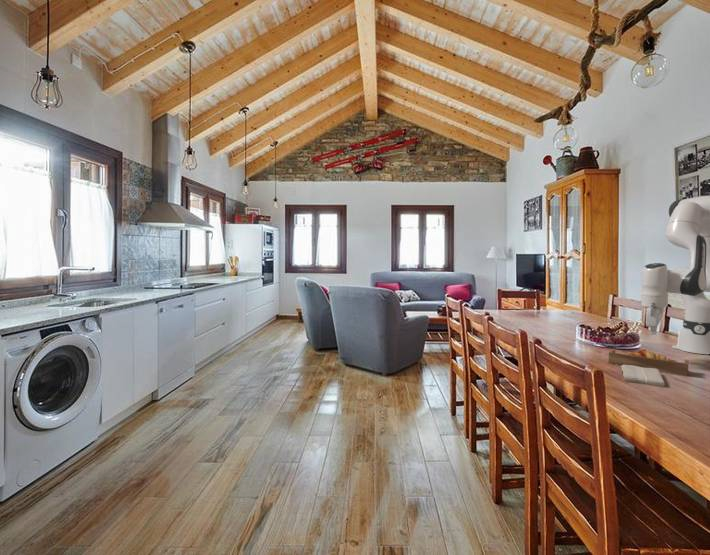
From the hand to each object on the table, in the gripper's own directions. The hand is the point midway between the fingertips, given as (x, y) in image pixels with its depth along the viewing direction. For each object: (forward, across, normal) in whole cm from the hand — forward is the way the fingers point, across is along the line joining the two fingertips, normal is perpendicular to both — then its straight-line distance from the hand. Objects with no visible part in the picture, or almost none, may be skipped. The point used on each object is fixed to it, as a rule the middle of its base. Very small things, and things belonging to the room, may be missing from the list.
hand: (653, 334), depth 162 cm
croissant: (+11, -13, 0) cm, 17 cm away
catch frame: (+10, -15, +1) cm, 19 cm away
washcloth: (+10, -33, +1) cm, 35 cm away
